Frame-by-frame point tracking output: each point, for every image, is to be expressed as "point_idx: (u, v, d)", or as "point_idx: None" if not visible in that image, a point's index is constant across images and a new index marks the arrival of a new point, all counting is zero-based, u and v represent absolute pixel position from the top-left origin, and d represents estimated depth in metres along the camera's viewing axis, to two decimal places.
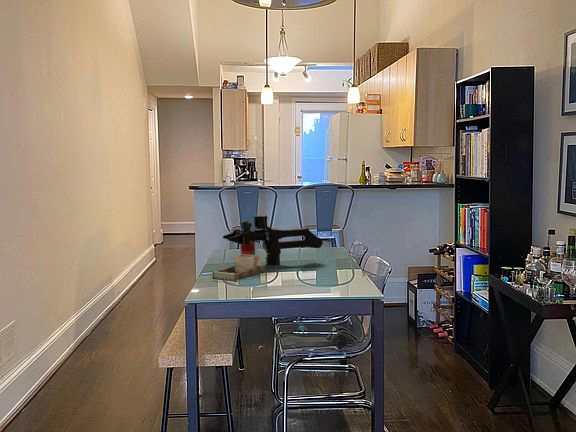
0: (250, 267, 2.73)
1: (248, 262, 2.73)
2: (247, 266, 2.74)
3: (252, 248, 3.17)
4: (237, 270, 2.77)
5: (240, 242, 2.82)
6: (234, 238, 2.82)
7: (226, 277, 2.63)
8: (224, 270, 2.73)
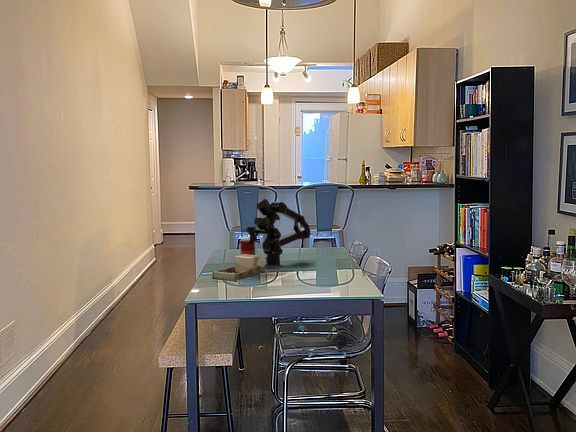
0: (250, 267, 2.73)
1: (248, 262, 2.73)
2: (247, 266, 2.74)
3: (252, 248, 3.17)
4: (237, 270, 2.77)
5: (273, 239, 2.85)
6: (267, 240, 2.83)
7: (226, 277, 2.63)
8: (224, 270, 2.73)
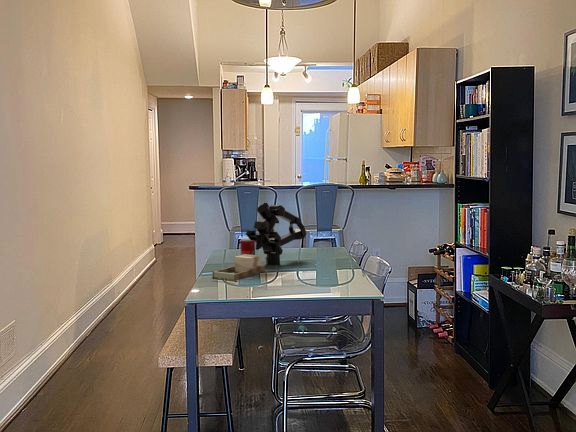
0: (250, 267, 2.73)
1: (248, 262, 2.73)
2: (247, 266, 2.74)
3: (252, 248, 3.17)
4: (237, 270, 2.77)
5: (266, 242, 2.87)
6: (261, 244, 2.85)
7: (226, 277, 2.63)
8: (224, 270, 2.73)
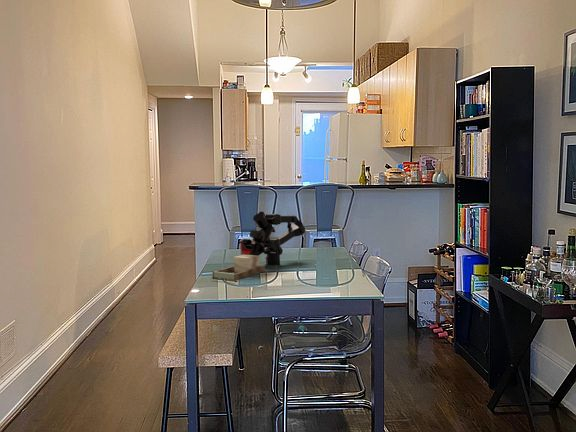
0: (249, 267, 2.72)
1: (247, 262, 2.72)
2: (246, 266, 2.73)
3: None
4: (236, 270, 2.77)
5: (262, 251, 2.84)
6: (256, 253, 2.82)
7: (226, 277, 2.63)
8: (224, 270, 2.73)
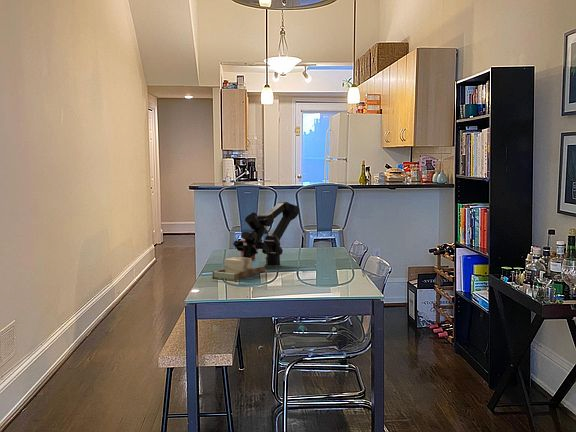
0: (240, 270, 2.67)
1: (238, 264, 2.67)
2: (237, 269, 2.68)
3: None
4: None
5: (254, 253, 2.79)
6: (248, 255, 2.76)
7: (226, 277, 2.63)
8: (224, 270, 2.73)
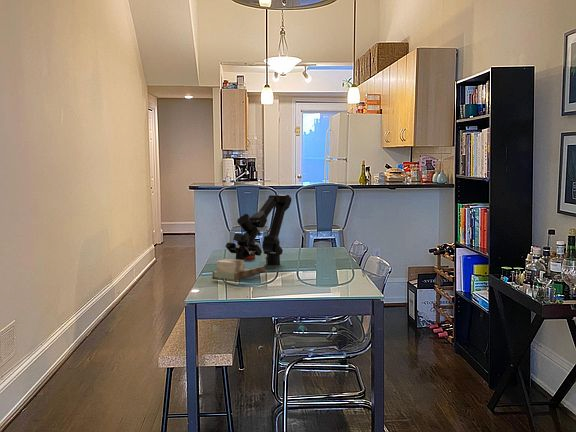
0: (232, 272, 2.62)
1: (230, 267, 2.62)
2: (229, 271, 2.63)
3: None
4: None
5: (246, 255, 2.74)
6: (240, 257, 2.71)
7: (226, 277, 2.63)
8: None
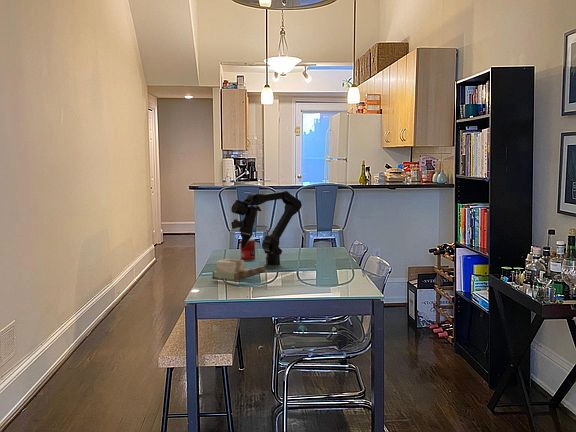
0: (232, 272, 2.62)
1: (230, 267, 2.62)
2: (229, 271, 2.63)
3: (252, 248, 3.17)
4: None
5: (248, 237, 2.83)
6: (243, 241, 2.84)
7: (226, 277, 2.63)
8: None
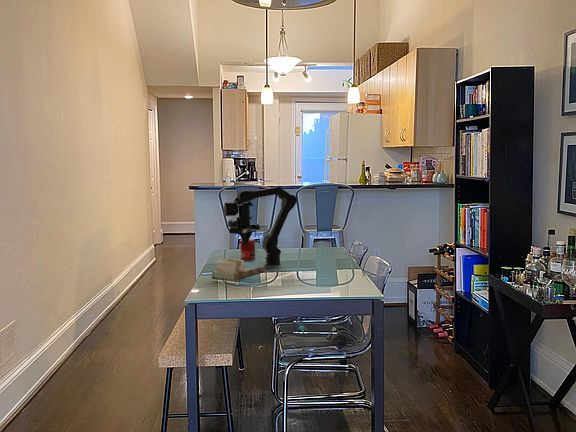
0: (232, 272, 2.62)
1: (230, 267, 2.62)
2: (229, 271, 2.63)
3: (252, 248, 3.17)
4: None
5: (245, 234, 2.87)
6: (243, 239, 2.89)
7: (226, 277, 2.63)
8: None
